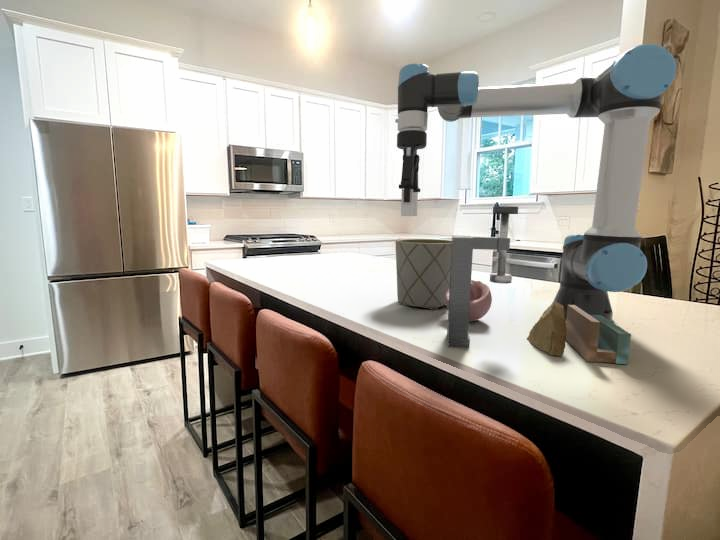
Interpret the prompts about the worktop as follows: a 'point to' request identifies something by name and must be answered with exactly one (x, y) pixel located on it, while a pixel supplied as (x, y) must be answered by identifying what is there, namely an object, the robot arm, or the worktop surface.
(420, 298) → the planter
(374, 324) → the worktop surface
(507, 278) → the ram
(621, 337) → the frame
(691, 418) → the worktop surface
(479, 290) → the mortar and pestle
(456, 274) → the press frame
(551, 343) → the rock
